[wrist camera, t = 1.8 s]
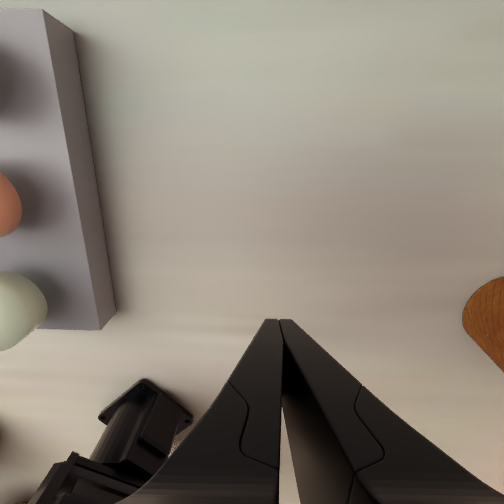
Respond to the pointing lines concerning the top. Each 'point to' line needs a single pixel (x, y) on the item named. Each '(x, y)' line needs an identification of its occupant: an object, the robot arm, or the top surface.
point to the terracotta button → (9, 207)
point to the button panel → (51, 172)
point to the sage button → (19, 308)
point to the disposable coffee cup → (487, 320)
